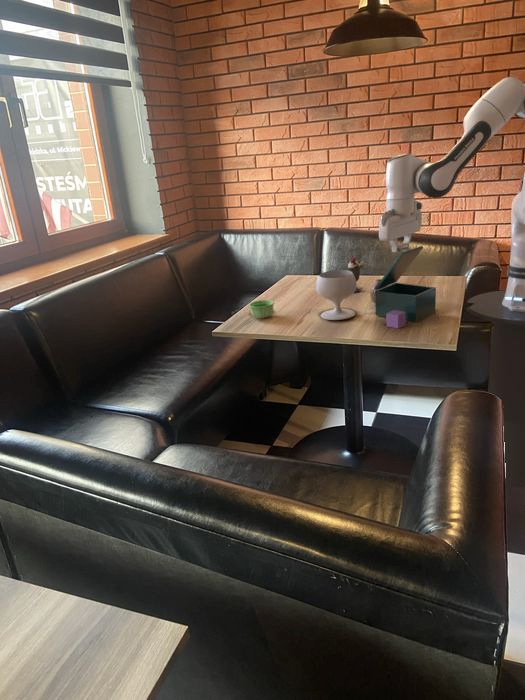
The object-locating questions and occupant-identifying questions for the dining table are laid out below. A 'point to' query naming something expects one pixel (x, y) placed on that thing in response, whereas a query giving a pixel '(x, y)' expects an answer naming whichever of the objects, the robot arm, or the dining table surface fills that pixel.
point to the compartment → (406, 300)
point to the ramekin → (261, 308)
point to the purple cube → (395, 319)
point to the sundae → (355, 269)
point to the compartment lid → (399, 265)
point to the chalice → (336, 292)
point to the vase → (374, 290)
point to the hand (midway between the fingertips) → (400, 249)
